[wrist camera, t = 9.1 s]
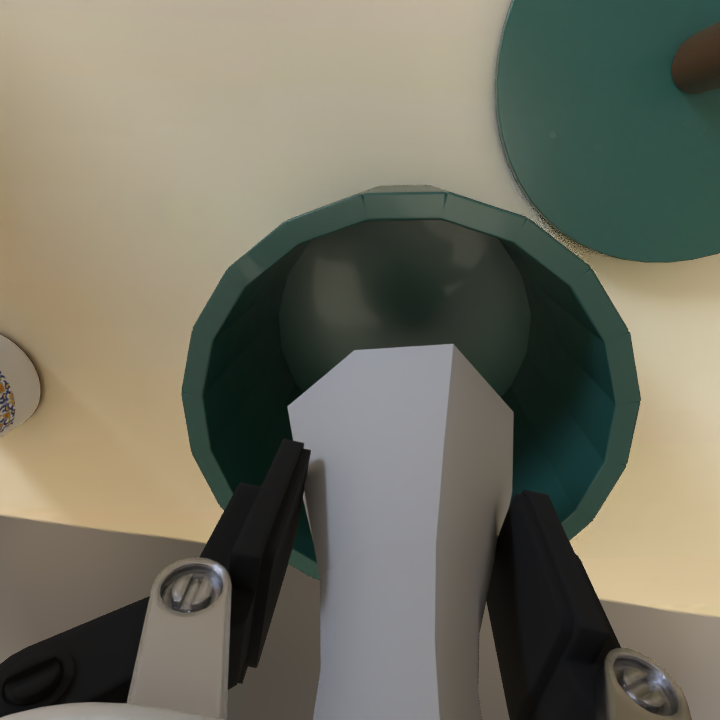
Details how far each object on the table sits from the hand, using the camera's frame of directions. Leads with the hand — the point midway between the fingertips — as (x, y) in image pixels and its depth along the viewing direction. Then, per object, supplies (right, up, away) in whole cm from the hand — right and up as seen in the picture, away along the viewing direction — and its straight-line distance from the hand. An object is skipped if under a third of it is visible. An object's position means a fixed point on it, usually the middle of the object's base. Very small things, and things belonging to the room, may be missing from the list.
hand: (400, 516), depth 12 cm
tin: (+1, +6, +15) cm, 16 cm away
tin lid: (+14, +17, +9) cm, 24 cm away
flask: (0, +1, +3) cm, 4 cm away
